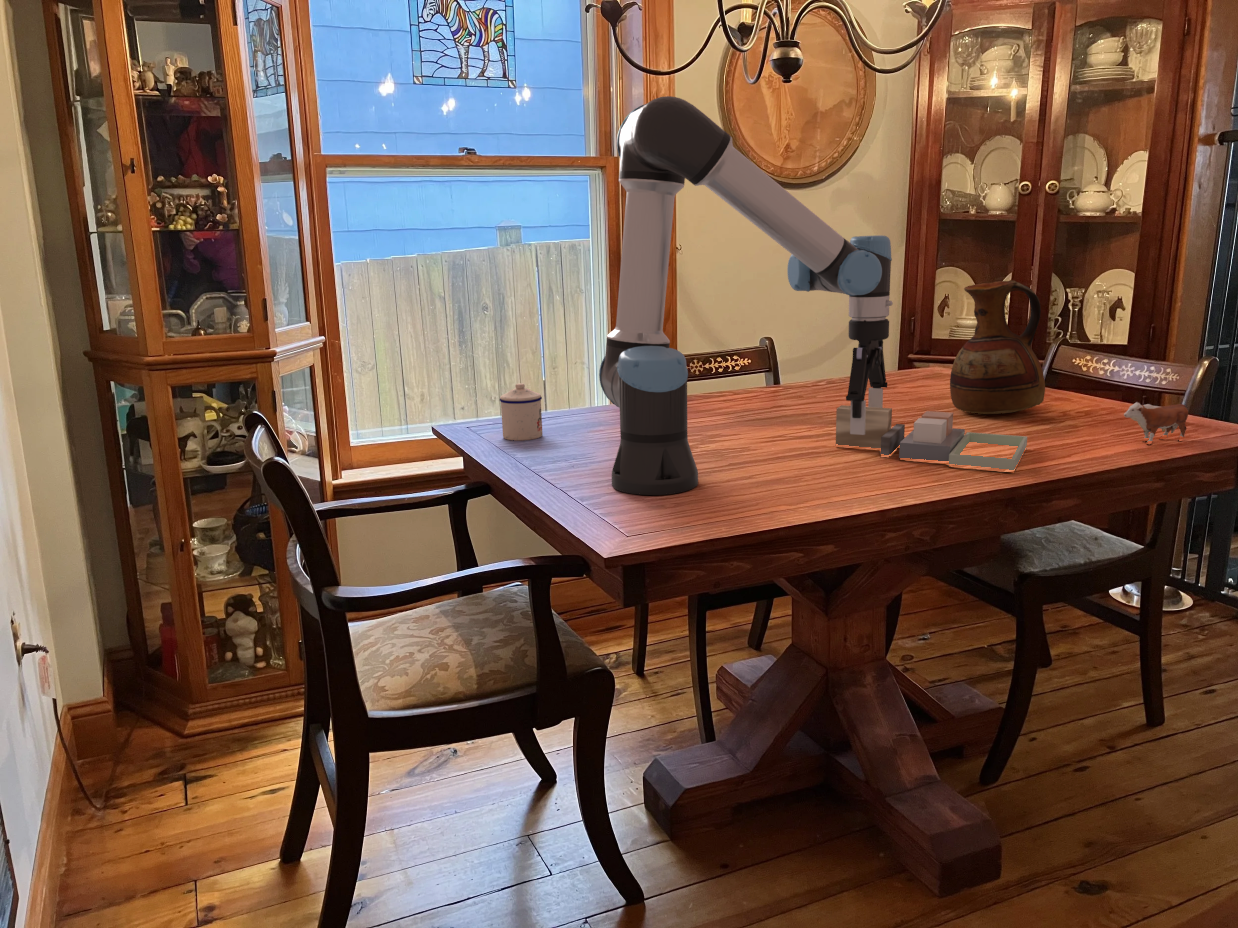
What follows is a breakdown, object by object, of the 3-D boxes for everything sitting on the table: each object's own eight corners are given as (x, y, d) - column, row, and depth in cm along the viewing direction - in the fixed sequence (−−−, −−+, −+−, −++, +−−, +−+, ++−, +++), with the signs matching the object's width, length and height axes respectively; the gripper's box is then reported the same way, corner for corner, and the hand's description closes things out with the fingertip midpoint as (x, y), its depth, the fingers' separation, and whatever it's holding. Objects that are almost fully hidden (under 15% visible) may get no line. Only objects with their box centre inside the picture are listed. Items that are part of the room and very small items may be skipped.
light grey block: (940, 443, 175) (941, 424, 174) (913, 441, 177) (913, 422, 176) (945, 437, 179) (946, 419, 178) (918, 435, 181) (919, 417, 180)
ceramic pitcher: (938, 405, 228) (945, 278, 220) (1024, 404, 226) (1034, 276, 219) (962, 422, 209) (971, 283, 201) (1056, 420, 207) (1068, 281, 200)
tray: (1013, 473, 166) (1014, 459, 165) (948, 467, 171) (949, 454, 171) (1026, 449, 183) (1027, 436, 182) (966, 444, 188) (967, 432, 188)
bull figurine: (1117, 442, 186) (1121, 401, 184) (1176, 437, 189) (1180, 397, 187) (1133, 447, 182) (1137, 405, 180) (1193, 442, 185) (1198, 400, 183)
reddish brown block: (947, 435, 181) (948, 417, 180) (920, 433, 183) (921, 415, 182) (952, 430, 185) (953, 412, 184) (925, 428, 187) (926, 411, 186)
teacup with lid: (548, 438, 204) (545, 385, 201) (506, 443, 202) (503, 388, 199) (535, 428, 215) (532, 377, 213) (495, 432, 213) (492, 380, 210)
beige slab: (888, 458, 179) (890, 416, 178) (828, 453, 185) (829, 412, 183) (903, 443, 191) (905, 404, 189) (846, 439, 196) (847, 401, 194)
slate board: (949, 465, 173) (950, 446, 172) (898, 460, 177) (899, 442, 176) (963, 446, 187) (964, 429, 186) (916, 442, 191) (917, 425, 190)
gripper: (872, 326, 169) (869, 441, 175) (903, 311, 191) (900, 415, 196) (831, 325, 173) (829, 439, 178) (865, 311, 194) (863, 413, 199)
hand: (866, 427), depth 187 cm, fingers open, 13 cm apart
